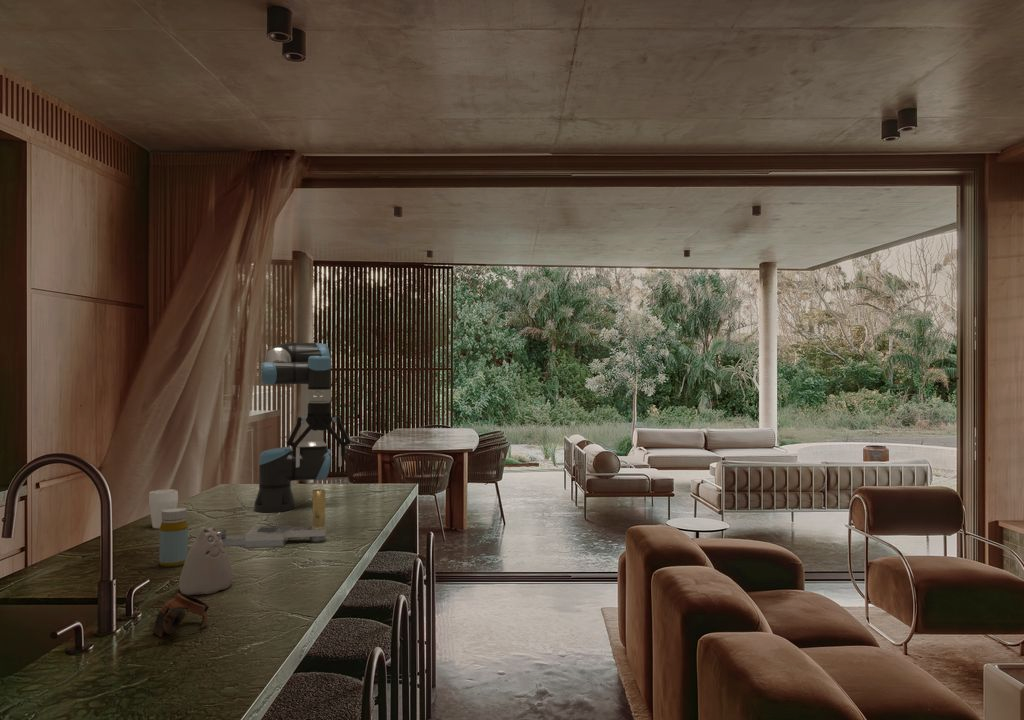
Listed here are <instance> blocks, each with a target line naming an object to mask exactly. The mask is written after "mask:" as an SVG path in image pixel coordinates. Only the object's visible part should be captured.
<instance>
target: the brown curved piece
mask: <svg viewBox="0 0 1024 720" xmlns="http://www.w3.org/2000/svg"><path fill="white" fill-rule="evenodd" d="M209 609H210V607H209V605H208V604H207V603H205V602H204V601H202V600H200V599H198V598H196V597H194V596H193V595H186V594H183V593H181V592H178V593H176V594H175V597H173V598H171V599H169V600H168V601H166V602H165V603H164V604H163V605H162V606H161V608H160V610H159V612H158V614H157V617H156V620H155V622H154V625H153V626H154V627H153V630H152V631H153V633H154V634H155V635H157V636H158V637H160V638H163V635H164V632H165V633H166V634H168V635H172V634H173V635H174V634H176V633H177V632H178V630H179V626H180V624H181V623H182V622H183V619H185V615H186V612H187V613H192V614H194V615H199V616H201V617H202V620H201V624H200V628H201V629H204V628H205V626H206V624H207V621H208V615H207V613H208V612H207V611H208V610H209Z"/></svg>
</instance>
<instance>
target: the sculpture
mask: <svg viewBox="0 0 1024 720" xmlns="http://www.w3.org/2000/svg"><path fill="white" fill-rule="evenodd" d="M216 530H217V529H215V528H214V527H213V526H210V527H209V528H205V527H203V528H202V529H201V530H200V532H199V533H198V534H197V537H196V538H195V540H194V541H193V543H192V544H191V546H190V549H188V554H187V557H186V560H185V563H184V565H182V566H183V567H182V570H181V573H180V577H179V580H178V581H179V582H178V586H179V591H180V593H182V594H186V595H189V596H198V595H200V596H201V595H211V594H216V593H217V592H219V591H223V590H227V589H229V588H230V587H231V584H232V583H233V569H232V565H231V560H230V557H229V555H228V551H227V549H226V546H224V543H223V541H222V539H221V537H220V535H219V534H218V532H217V531H216Z"/></svg>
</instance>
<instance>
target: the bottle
mask: <svg viewBox="0 0 1024 720" xmlns="http://www.w3.org/2000/svg"><path fill="white" fill-rule="evenodd" d="M188 542H189V524H188V522H187V508H186V507H177V508H169V509H164V510H162V523H161V526H160V529H159V559H158V560H159V565H160V566H161V567H162V568H163V567H164V568H175V567H180V566H184V563H185V560H186V557H187V554H188V552H189V549H188V548H189V546H188V545H189V543H188Z"/></svg>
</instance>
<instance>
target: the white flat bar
mask: <svg viewBox="0 0 1024 720" xmlns="http://www.w3.org/2000/svg"><path fill="white" fill-rule="evenodd" d="M327 529H328V528H327V526H326V525H325V526H315V527H313V526H290V524H288V525H284V524H282V525H253V527H251V528H250V529H249V530H248V531H247V532H246V533H245V534H241V535H239V534H235V535H233V534H232V535H227V530H226V529H221V528H220V529H215V530H216V531H217V532H218V534H219V535H220V537H221V539H222V541H223V543H224V546H225V547H232V546H233V547H235V546H244V547H245V548H246V549H248V548H275V547H278V548H279V547H284V546H285V545H286V543H287V542H288V540H289V539H290V538H304V537H305V538H308V541H309V543H312V544H319V543H324V542H326V539H327V538H326V537H327V532H328V531H327Z"/></svg>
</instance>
